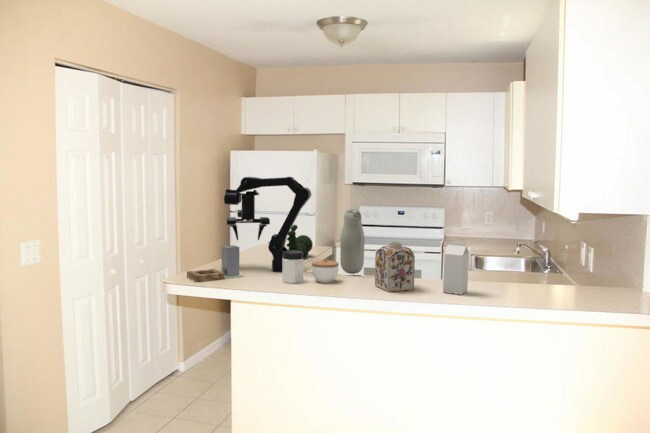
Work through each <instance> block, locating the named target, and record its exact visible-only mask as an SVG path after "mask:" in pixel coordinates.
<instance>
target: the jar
mask: <svg viewBox="0 0 650 433" xmlns="http://www.w3.org/2000/svg"><path fill="white" fill-rule="evenodd" d="M288 250H289V249H288ZM281 273H282V274H281V276H282V277H281V278H282V279H281V280H282V281H283V283H286V284H287V283H289V284H298V283H303V282H304V258H303V252H302V251H296V250H289V251H284V252H283V258H282V271H281Z"/></svg>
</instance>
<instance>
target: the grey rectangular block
mask: <svg viewBox="0 0 650 433" xmlns="http://www.w3.org/2000/svg"><path fill="white" fill-rule="evenodd" d="M221 272H223V273H225V276H227V277H229V276H239V274H240V246H237V245H235V244H234V245H222V246H221Z"/></svg>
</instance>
